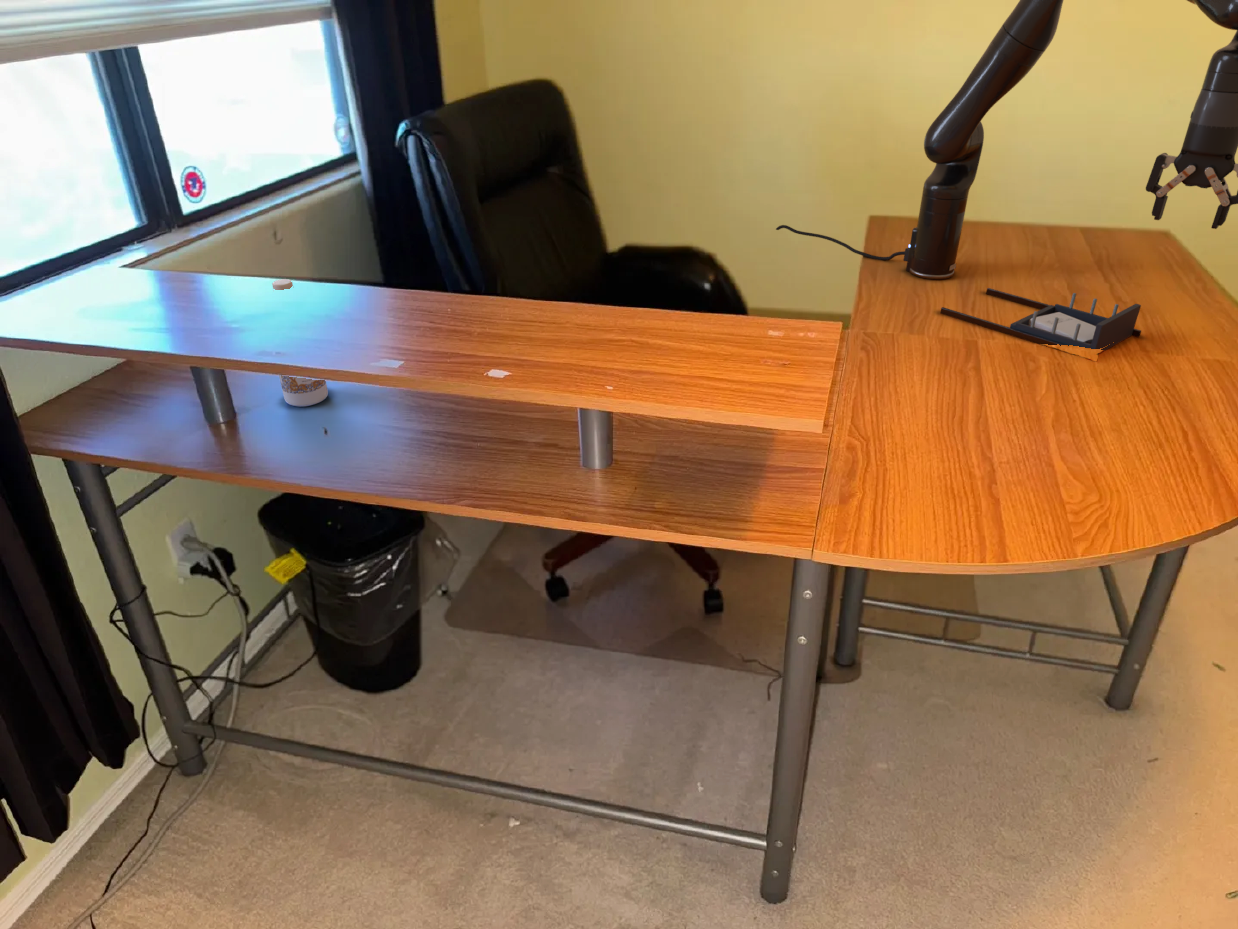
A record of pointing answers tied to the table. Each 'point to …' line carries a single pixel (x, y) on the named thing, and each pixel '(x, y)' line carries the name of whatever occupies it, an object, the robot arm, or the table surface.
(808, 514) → the table surface
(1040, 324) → the hard drive
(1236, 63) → the robot arm
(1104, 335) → the rack
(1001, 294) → the rack rails
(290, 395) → the patterned jar
